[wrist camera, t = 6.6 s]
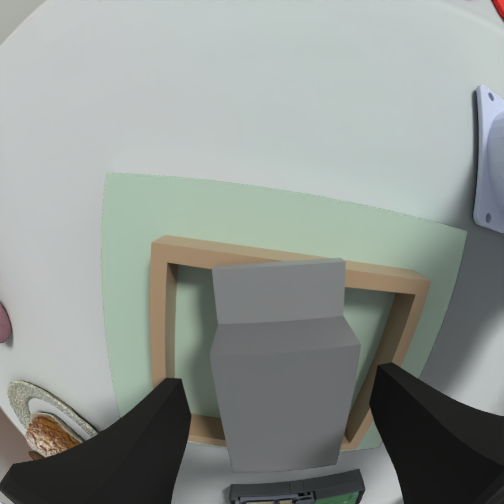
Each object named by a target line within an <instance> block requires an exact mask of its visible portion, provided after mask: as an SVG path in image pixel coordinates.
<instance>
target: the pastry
mask: <svg viewBox="0 0 504 504" xmlns="http://www.w3.org/2000/svg"><path fill="white" fill-rule="evenodd" d="M8 397H9V400H10V404H11V407H12V408H13V410H14V412H15V414H16V416H17V417H18V419H19V421H20V422H21V424H22V425H23V426H24V428H25V429H26V430H27V431H26V435H25V436H26V440H27V442H28V445H29V446H31V448H32V450H33V451H30V452H29V455H30V456H31V458H32V459H33V460H38V459H42V458H45V457H49V456H52V455H55V454H58V453H60V452H63V451H66V450H68V449H70V448H72V447H75V446H77V445H79V444H81V443H83V442H85V441H84V440H83V439H82V438H81V437H80V436H79V435H78V434H77V433H76V432H75V431H74V430H73V429H72V428H71V427H69V426H68V425H67V424H66V423H65V422H63V421H62V420H61V419H60V418H59V417H58V416H56V415H52V414H46V413H42V412H33V413H32V414H30V411H29V407H28V403H29V400H30V399H32V398H38V399H42V400H44V401H46V402H48V403H50V404H52V405H53V406H55V407H56V408H58V409H59V410H61V411H62V412H64V413H65V414H66V415H68V416H69V417H70V418H71V419H73V420H74V421H75V422H76V423H77V424H78V425H80V426H81V427H82V428H83V429H84V430H85V431H86V432H87V433H88V434H89V435H90V436H91V437H94V436H96V435H97V434H99V432H97V431H96V430H95V429H93V428H92V427H91V426H90V425H89V424H88V423H87V422H85V421H84V420H83V419H82V418H80V417H79V416H78V415H77V414H76V413H74V410H73V409H72V408H71V407H69V406H68V405H67V404H66V403H65V402H63V401H62V400H61V399H59V398H58V397H56V396H54V395H53V394H51V393H50V392H48V391H45V390H43V389H42V388H38V387H37V386H34V385H33V384H32V383H30V382H23V381H18V380H17V381H13V382H11V383H10V384H9V386H8Z"/></svg>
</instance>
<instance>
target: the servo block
mask: <svg viewBox="0 0 504 504" xmlns="http://www.w3.org/2000/svg"><path fill="white" fill-rule="evenodd" d="M345 268H346V261H344V260H343V259H342V258H328V259H312V260H296V261H280V262H263V263H246V264H228V265H214V267H213V268H212V277H213V286H214V295H215V304H216V312H217V320H218V326H217V330H216V333H215V337H214V340H213V344H212V348H211V351H210V355H209V356H210V362H211V368H212V374H213V379H214V385H215V390H216V395H217V401H218V406H219V411H220V416H221V420H222V425H223V430H224V434H225V439H226V443H227V448H228V452H229V456H230V461H231V465H232V469H233V472H276V471H289V470H300V469H308V468H316V467H323V466H329V465H335V464H336V462H337V459H338V456H339V452H340V448H341V445H342V441H343V437H344V433H345V429H346V425H347V420H348V416H349V411H350V407H351V402H352V397H353V392H354V386H355V381H356V375H357V369H358V363H359V356H360V349H361V343H360V341H359V340H358V338H357V336H356V335H355V333H354V332H353V330H352V329H351V327H350V325H349V324H348V322H347V321H346V319H345V318H344V316H343V312H344V295H345Z"/></svg>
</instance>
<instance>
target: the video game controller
mask: <svg viewBox="0 0 504 504" xmlns="http://www.w3.org/2000/svg"><path fill="white" fill-rule="evenodd" d="M10 333H11V325H10V321H9V318H8V316H7V313H6V311H5V310H4V308H3V307H2V305H1V304H0V343H3V342H5V341H6V340H7V339H8V338H9V336H10Z"/></svg>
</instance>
